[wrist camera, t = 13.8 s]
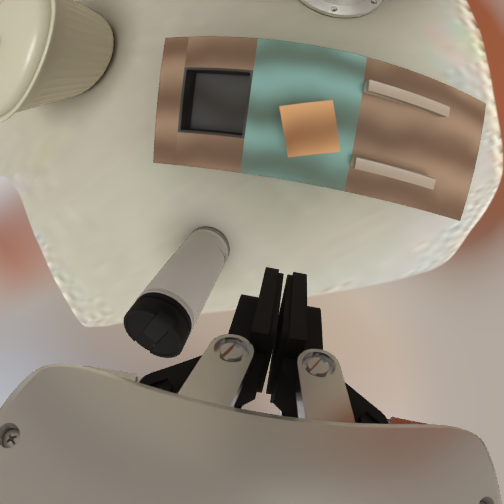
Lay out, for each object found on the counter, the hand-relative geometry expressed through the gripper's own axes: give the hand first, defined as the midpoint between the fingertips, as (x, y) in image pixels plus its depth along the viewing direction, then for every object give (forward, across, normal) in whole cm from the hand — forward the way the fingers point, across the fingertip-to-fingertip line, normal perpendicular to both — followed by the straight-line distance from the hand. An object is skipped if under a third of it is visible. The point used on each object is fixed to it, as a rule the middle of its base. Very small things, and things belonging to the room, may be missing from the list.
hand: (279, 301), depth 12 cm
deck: (+27, -2, -8) cm, 28 cm away
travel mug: (+27, +10, +12) cm, 32 cm away
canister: (+27, +33, -16) cm, 46 cm away
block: (+23, -1, -6) cm, 24 cm away
